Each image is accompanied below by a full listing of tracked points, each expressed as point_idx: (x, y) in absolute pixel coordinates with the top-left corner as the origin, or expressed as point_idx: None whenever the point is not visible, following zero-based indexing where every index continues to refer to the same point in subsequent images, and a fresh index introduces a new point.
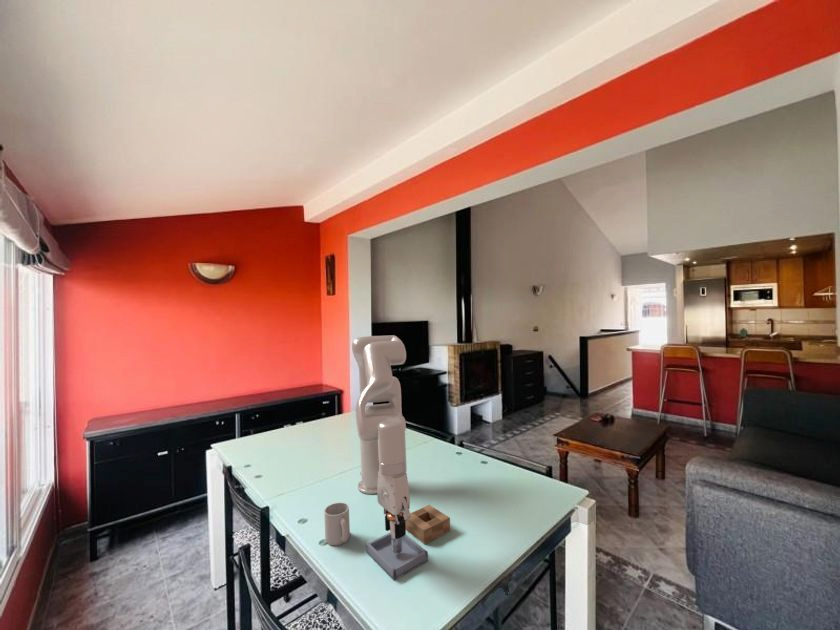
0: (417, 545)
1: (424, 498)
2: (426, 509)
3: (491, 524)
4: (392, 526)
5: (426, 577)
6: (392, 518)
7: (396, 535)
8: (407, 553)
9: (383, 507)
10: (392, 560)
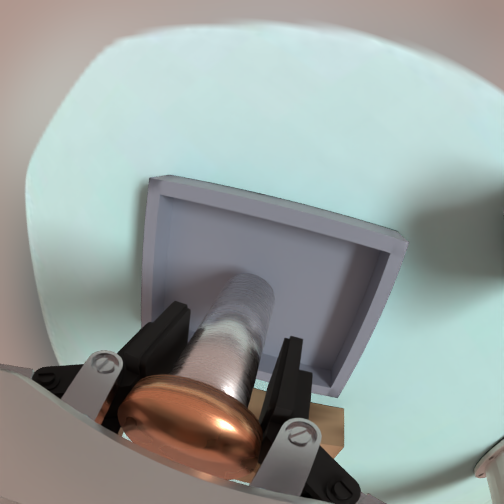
0: None
1: (366, 490)
2: None
3: None
4: (195, 353)
5: (111, 257)
6: (140, 390)
7: (164, 312)
8: None
9: (206, 482)
10: (243, 249)
